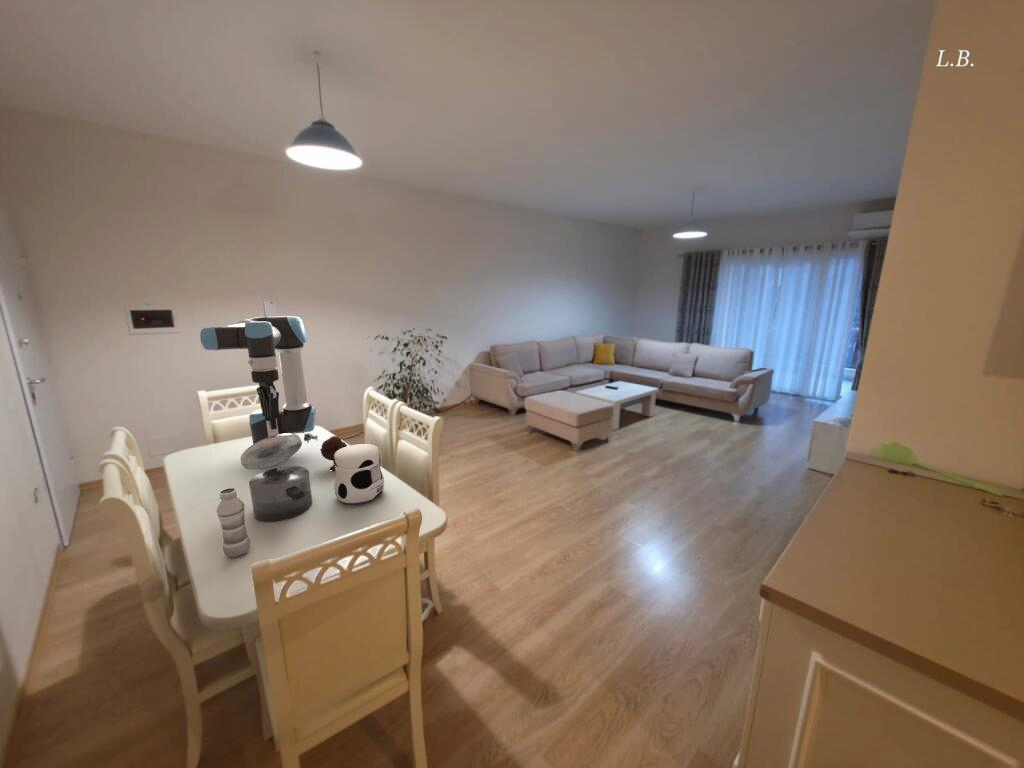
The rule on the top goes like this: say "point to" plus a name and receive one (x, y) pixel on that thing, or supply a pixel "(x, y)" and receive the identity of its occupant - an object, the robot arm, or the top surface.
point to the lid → (270, 451)
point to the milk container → (358, 474)
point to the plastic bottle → (232, 524)
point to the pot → (280, 493)
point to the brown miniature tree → (332, 448)
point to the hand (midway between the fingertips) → (273, 437)
